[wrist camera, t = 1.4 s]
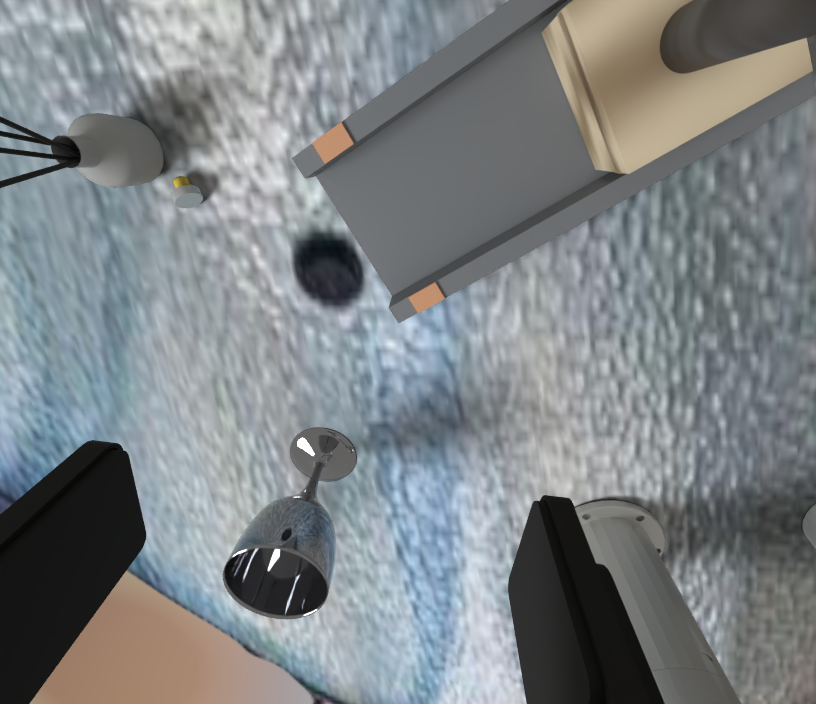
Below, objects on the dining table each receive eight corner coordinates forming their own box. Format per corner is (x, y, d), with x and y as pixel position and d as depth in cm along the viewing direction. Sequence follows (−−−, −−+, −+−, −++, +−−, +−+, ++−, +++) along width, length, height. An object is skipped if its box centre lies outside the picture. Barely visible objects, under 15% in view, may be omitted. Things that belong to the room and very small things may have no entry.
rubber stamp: (741, 86, 28) (984, 36, 16) (595, 170, 31) (704, 184, 19) (700, -78, 25) (965, -306, 13) (541, 32, 28) (628, -66, 15)
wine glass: (287, 480, 47) (227, 613, 34) (284, 420, 44) (217, 541, 30) (358, 488, 47) (327, 624, 34) (361, 428, 44) (328, 554, 30)
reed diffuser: (76, 145, 34) (-342, 139, 16) (101, 57, 31) (-366, -71, 13) (196, 222, 36) (-51, 296, 18) (229, 146, 33) (-20, 142, 15)
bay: (769, 101, 30) (818, 94, 26) (402, 306, 38) (398, 324, 34) (714, -135, 25) (764, -186, 21) (307, 157, 33) (291, 158, 29)
